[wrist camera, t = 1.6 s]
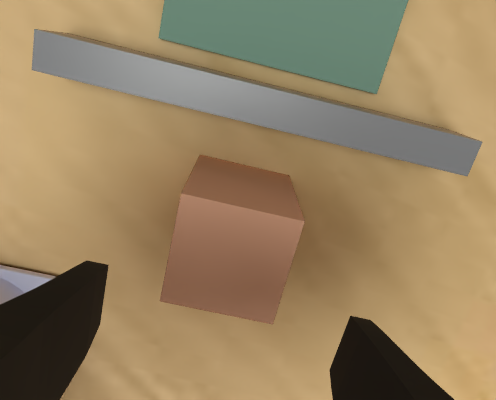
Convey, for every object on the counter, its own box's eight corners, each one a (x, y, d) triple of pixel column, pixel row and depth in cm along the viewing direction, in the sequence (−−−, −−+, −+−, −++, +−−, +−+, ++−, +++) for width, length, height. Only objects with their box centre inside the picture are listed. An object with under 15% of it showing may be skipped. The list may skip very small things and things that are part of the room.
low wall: (436, 159, 20) (467, 176, 17) (65, 67, 18) (31, 70, 16) (448, 129, 19) (482, 142, 17) (68, 33, 18) (34, 28, 15)
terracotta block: (266, 254, 22) (272, 324, 16) (183, 236, 21) (159, 301, 16) (289, 175, 20) (304, 221, 15) (200, 154, 20) (181, 193, 14)
